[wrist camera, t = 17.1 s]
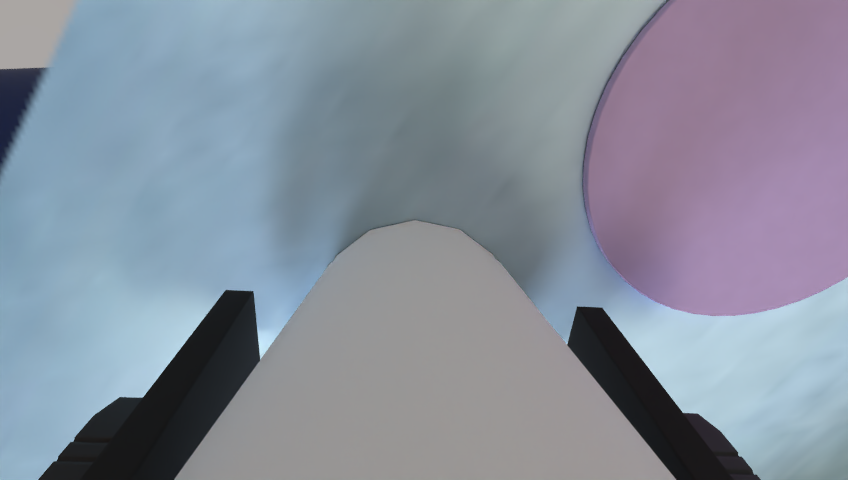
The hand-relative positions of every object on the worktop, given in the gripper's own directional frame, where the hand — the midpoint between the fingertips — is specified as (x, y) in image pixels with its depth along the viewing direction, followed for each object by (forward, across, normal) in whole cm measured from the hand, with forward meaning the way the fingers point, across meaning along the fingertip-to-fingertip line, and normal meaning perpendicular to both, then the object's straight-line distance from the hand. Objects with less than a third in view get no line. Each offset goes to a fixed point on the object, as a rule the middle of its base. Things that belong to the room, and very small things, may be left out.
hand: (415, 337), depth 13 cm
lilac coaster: (+2, +10, +6) cm, 12 cm away
